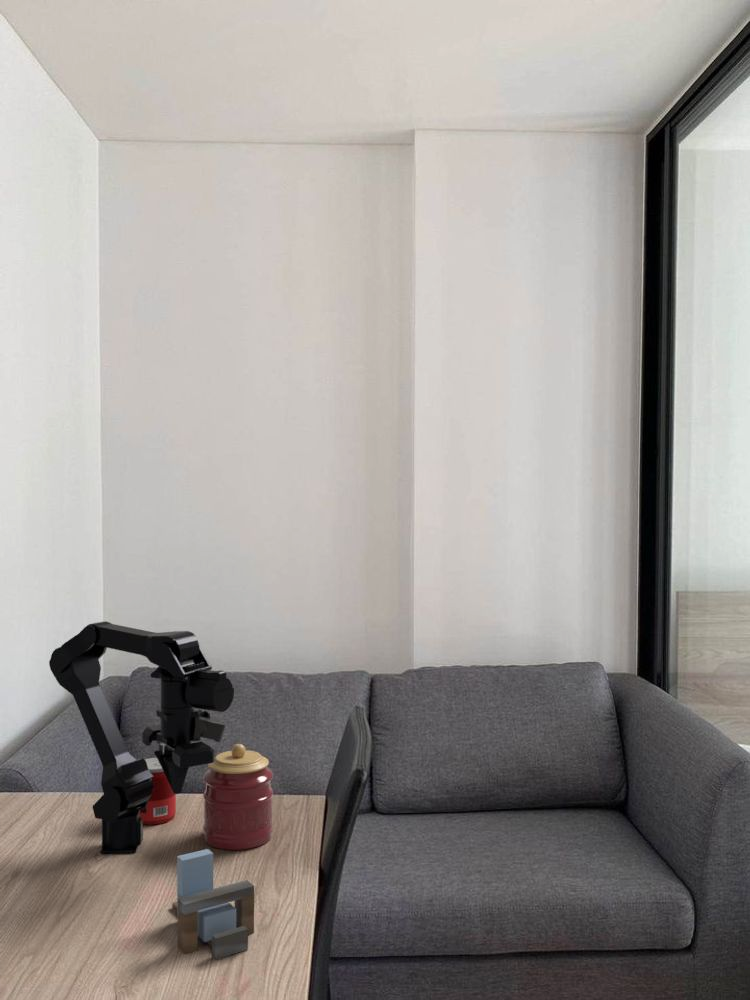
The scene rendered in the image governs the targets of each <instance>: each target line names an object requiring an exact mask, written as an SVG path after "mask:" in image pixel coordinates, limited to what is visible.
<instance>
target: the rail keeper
mask: <svg viewBox="0 0 750 1000" xmlns="http://www.w3.org/2000/svg"><path fill="white" fill-rule="evenodd" d="M228 902H229V903H231V902H234V907H235V908H236V928H234V929H231V930H228V931H224V932H221V933H218V934H214V935H212V940H210V941H207V942H206V943H207V945H209V946H210V947H211V956H212V958H213V959H214V960H219V959H223V958H226V957H229V956H228V955H230V956H232V955H231V954H233V955H235V953H236V954H239V953H242V952H245V951H244V950H246V951H248V950H249V935H251V934H254V933H255V885H254V884H252V882H250V881H249V880H247V879H246V880H242V881H239V882H234V883H231V884H227V885H223V886H219V887H216V888H213V889H211V890H207V891H204V892H200V893H196V894H192V895H189V896H185V897H181V898H178V915H177V948H178V949H179V950H180V951H181V952H182V953H183V954H184V953H185V954H188V953H191V952H195V951H197V950H198V935H197V911H199V910H203V909H206V908H210V907H214V906H217V905H221V904H224V903H228ZM171 905H172V907H171V908H172V909H173V910H174V911H175V912H176V913H177V901H174V902H172V904H171ZM247 949H248V950H247ZM241 951H242V952H241ZM238 952H239V953H238Z"/></svg>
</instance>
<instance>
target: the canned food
mask: <svg viewBox="0 0 750 1000" xmlns="http://www.w3.org/2000/svg"><path fill="white" fill-rule="evenodd" d="M144 759H145V761H146V763H147V766H148V769H149V771H150V773H151V774H152V775H153V778H151V779H152V782H153V786H154V789H153V790H152V795H151V797H150V798H149V800H148V804H147V807H146V808H144V809H141V810H140V818H143V825H144V824H148V825H147V826H154V825H153V824H158V825H162V824H161V823H163V824H166V823H168V821H169V822H170V820H171V819H172V820H173V819H174V818H175V815H176V812H177V811H176V810H177V809H176V808H177V803H176V801H177V800H176V799H177V797H176V796H177V794H175V793H173V791H172V789H171V786H170V784H169V782H168V780H167V778H166V775H165V773H164V771H163V769H162V767H161V765H160V763H159V761H158V759H157V757H150V758H144ZM172 820H171V821H172ZM165 822H166V823H165Z"/></svg>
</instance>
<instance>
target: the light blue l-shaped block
mask: <svg viewBox="0 0 750 1000" xmlns="http://www.w3.org/2000/svg"><path fill="white" fill-rule="evenodd" d="M176 857H177V861H176V863H177V864H176V865H177V866H176V867H177V868H176V869H177V871H176V873H177V875H176V878H177V880H176V887H177V888H176V889H177V890H176V893H177V894H176V896H177V897H176V898H177V900H176V902H177V912H176V914H177V916H178V898H181V897H185V896H189V895H192V894H196V893H200V892H204V891H207V890H211V889H214V852H213V851H211V850H210V849H209V848H205V849H202V850H197V851H194V852H189V853H184V854H181V855H177V856H176ZM234 928H236V908H235V906H234V905H232V903H231V902H228V903H224V904H221V905H217V906H214V907H210V908H206V909H203V910H199V911H197V937H198V938H200V940H201V941H202V942H204V943H207V941H210V940H212V935H214V934H218V933H221V932H224V931H228V930H231V929H234Z"/></svg>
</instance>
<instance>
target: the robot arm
mask: <svg viewBox="0 0 750 1000" xmlns="http://www.w3.org/2000/svg"><path fill="white" fill-rule="evenodd" d="M107 649H112V650H116V651H121V652H125V653H128V654H129V653H130V654H135V655H139V656H142V657H144V658H147V660H148V661H149V662H150V663H151V664H153V665H156V666H157V667H156V669H155V670H153V671H152V672H151V673H150V678H151V679H159V680H160V709H156V716H157V717H159V719H160V720H159V721H160V724H157V725H151V726H146V727H145V729H144V730H143V731H142V733H141V734H142V737H141V738H142V739H141V742H142V743H143V744H144V745H145V746H147V747H148V746H151V745H152V743H153V742H156V743H157V744H158V750H155V751H154V753H153V754H154V755H155V758H157V759H158V761H159V763H160V765H161V767H162V769H163V771H164V773H165V775H166V778H167V780H168V782H169V784H170V786H171V789H172V791H173V793H175V794H176V795H179V794H181V793H182V791H183V786H184V783H185V781H186V779H187V778H186V777H187V775H188V772H189V769H190V768H191V767H198V766H202V765H208V764H209V763H213V762H214V758H215V749H213V748H212V747H211V746H210V745H209V744H206V743H204V742H203V741H201V739H202V738H204V739H209V740H213V741H214V742H215V743H220V742H222V739H223V734H224V732H225V729H226V726H227V725H226V724H225V723H223V722H221V721H219V720H217V719H214V718H211V714H210V712H209V711H213V712H219V713H223V712H225V711H227V710H229V708H230V707H231V705H232V703H233V700H234V696H235V688H234V687H233V684H232V681H231V679H229V678H228V677H227V671H226V670H213V668H212V664H210V662H209V659H208V657H207V656H206V654H205V653H204V650H203V649H202V647H201V645H200V643H199V641H198V639H197V637H196V634H195V633H193V632H191V631H188V630H187V631H186V630H185V631H184V630H180V631H177V630H175V631H165V632H164V631H163V632H156V631H155V632H153V631H151V630H150V631H149V630H143V629H140V628H133V627H130V626H129V627H128V626H123V625H120V624H114V623H111V622H108V621H106V620H105V621H99V622H93V623H89V624H87V625H86V626H84V627H83V628H82V630H80V632H79V633H78V634H76V635H74V636H73V637H72V638H70V639H68V640H67V641H66V642H64V643H63V644H62V645H61V646H60V647H57V648H55V649H54V650H53V651H52V653H51V655H50V659H49V662H48V664H49V669H50V671H51V673H52V675H53V677H54V678H55V680H56V682H57V683H58V684H59V685H60V687H62V688H63V689H64V690H66V691H67V692H68V693H70V694H71V695H72V696H73V699H74V701H75V703H76V705H77V708H78V710H79V713H80V715H81V717H82V719H83V720H82V721H83V722H84V724H85V727H86V729H87V732H88V735H89V736H90V738H91V742H93V743H92V744H93V745H94V748H95V751H96V752H97V755H98V757H99V760H100V763H101V765H102V772H101V773H102V774H101V781H100V786H101V789H102V792H103V794H102V795H101V797H100V798H99V799H98V800H97V801H96V802H94V804H93V805H92V811H93V814H94V818H95V819H98V820H101V846H100V849H99V854H117V853H118V854H119V853H121V854H122V853H124V854H125V853H127V854H128V853H136V852H137V850H138V849H139V847H140V845H142V842H143V840H144V824H143V818H140V810H141V809H144V808H146V807H147V804H148V800H149V798H150V797H151V795H152V790H153V789H154V786H153V782H152V779H151V778H153V775H152V774H151V773H150V771H149V769H148V766H147V763H146V761H145V759H146V758H144V757H141V758H140V757H139V758H138V759H136V758H135V757H134V756H133V755H131V754H130V752H129V750H128V747H127V746H126V744H125V740H124V738H123V737H122V734H121V732H120V730H119V727H118V725H117V722H116V720H115V718H114V716H113V713H112V710H111V708H110V707H109V704H108V702H107V699H106V698H105V697H106V696H105V694H104V692H103V690H102V687H101V686H100V676H101V670H102V669H101V667H102V666H101V663H100V660H99V659H100V658H101V657H103V655H105V653H106V652H107ZM192 663H193V664H192ZM197 709H198V710H197Z"/></svg>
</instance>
